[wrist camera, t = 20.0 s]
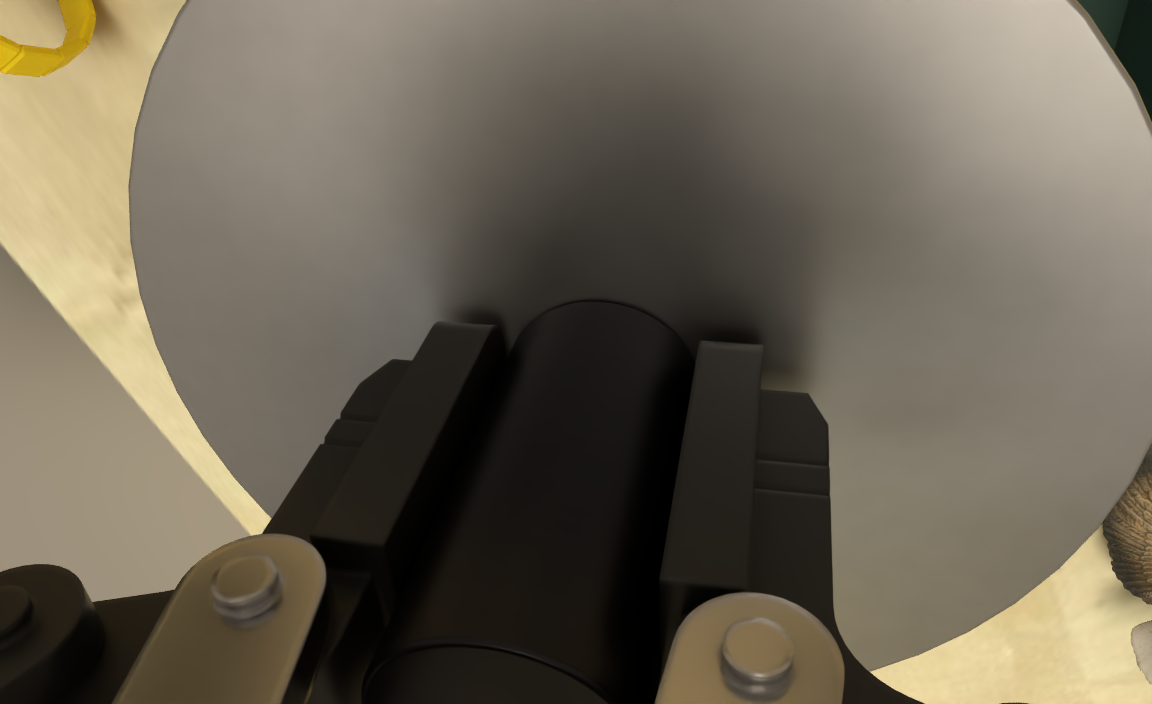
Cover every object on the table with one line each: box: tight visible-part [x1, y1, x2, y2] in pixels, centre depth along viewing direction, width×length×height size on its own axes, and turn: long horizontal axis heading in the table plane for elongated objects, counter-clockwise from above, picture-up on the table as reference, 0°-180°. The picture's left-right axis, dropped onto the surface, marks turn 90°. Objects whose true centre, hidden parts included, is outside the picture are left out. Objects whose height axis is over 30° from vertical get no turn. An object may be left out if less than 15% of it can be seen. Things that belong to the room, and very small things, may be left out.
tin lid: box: [129, 0, 1152, 704], centre depth 10 cm, size 12×12×6 cm
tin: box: [1077, 0, 1152, 121], centre depth 24 cm, size 11×11×8 cm
